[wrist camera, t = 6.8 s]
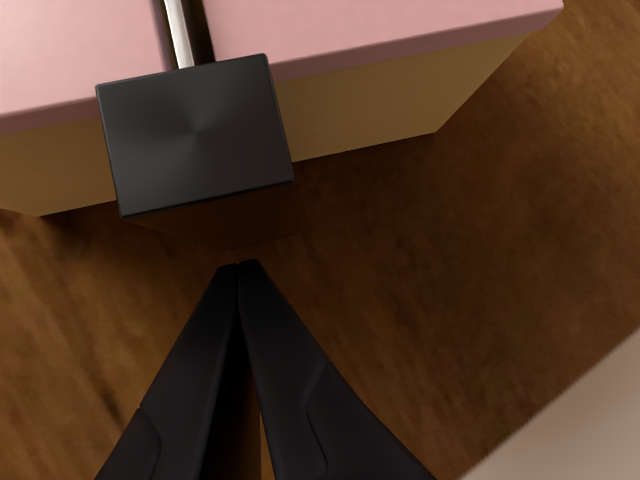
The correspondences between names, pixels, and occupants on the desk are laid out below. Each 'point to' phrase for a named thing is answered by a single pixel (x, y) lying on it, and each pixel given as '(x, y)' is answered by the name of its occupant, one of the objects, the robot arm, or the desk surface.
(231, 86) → the cake knife
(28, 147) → the loaf cake
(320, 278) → the desk surface
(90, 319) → the desk surface
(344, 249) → the desk surface
